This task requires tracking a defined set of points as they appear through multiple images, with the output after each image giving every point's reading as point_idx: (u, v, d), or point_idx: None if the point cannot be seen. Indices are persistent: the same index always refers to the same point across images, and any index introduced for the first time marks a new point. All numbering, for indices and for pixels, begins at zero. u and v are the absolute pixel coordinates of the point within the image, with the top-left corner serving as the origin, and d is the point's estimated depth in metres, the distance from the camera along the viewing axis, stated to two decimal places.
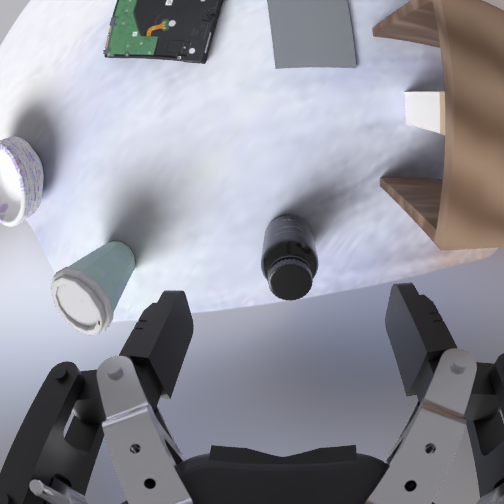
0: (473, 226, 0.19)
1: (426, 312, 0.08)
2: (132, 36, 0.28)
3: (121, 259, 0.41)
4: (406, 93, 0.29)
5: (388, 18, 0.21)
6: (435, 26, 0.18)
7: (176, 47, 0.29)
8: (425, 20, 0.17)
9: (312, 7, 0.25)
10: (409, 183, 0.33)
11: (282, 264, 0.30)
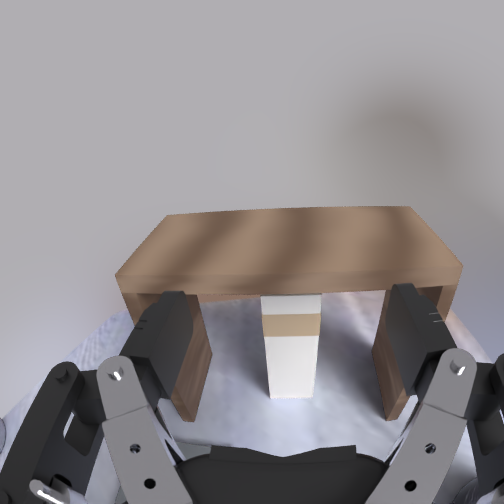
0: (418, 242, 0.17)
1: (426, 312, 0.08)
2: None
3: None
4: (272, 395, 0.28)
5: None
6: None
7: None
8: None
9: None
10: (387, 381, 0.25)
11: None
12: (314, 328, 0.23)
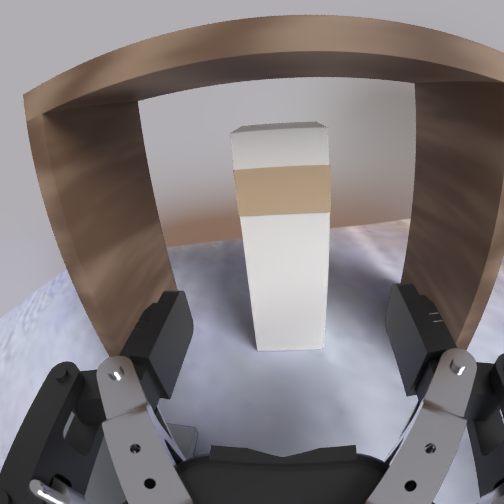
0: None
1: (426, 312, 0.08)
2: None
3: None
4: (259, 344, 0.19)
5: (89, 311, 0.14)
6: (117, 225, 0.16)
7: None
8: (95, 216, 0.14)
9: None
10: None
11: None
12: (321, 196, 0.14)
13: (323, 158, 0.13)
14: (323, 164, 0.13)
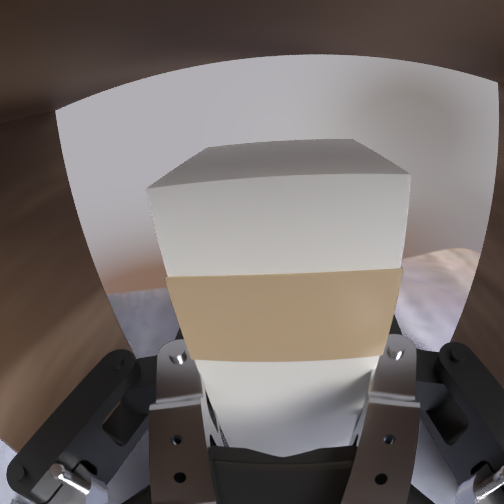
0: None
1: None
2: None
3: None
4: None
5: (6, 443, 0.06)
6: (20, 325, 0.08)
7: None
8: None
9: None
10: None
11: None
12: (370, 331, 0.06)
13: (390, 254, 0.05)
14: (387, 268, 0.05)
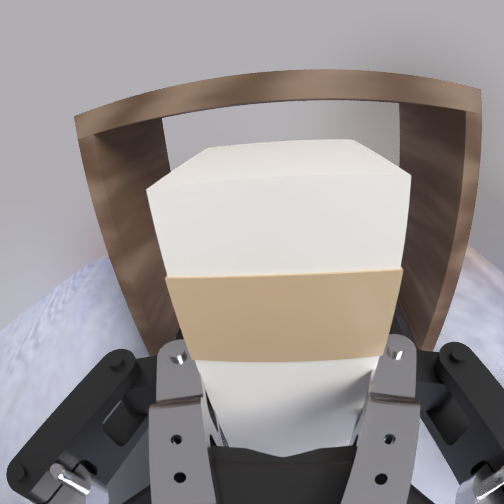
0: None
1: None
2: None
3: None
4: None
5: (127, 296, 0.18)
6: (149, 224, 0.20)
7: None
8: (134, 217, 0.18)
9: None
10: (415, 298, 0.20)
11: None
12: (370, 332, 0.06)
13: (390, 254, 0.05)
14: (387, 268, 0.05)
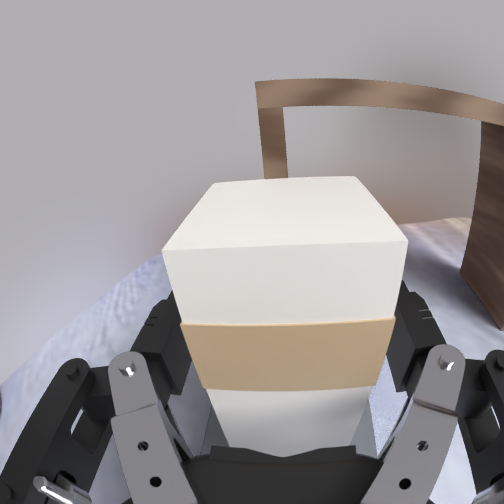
0: None
1: (415, 308, 0.08)
2: None
3: None
4: None
5: None
6: None
7: None
8: None
9: None
10: (495, 285, 0.20)
11: None
12: (364, 367, 0.06)
13: (384, 306, 0.05)
14: (381, 318, 0.06)
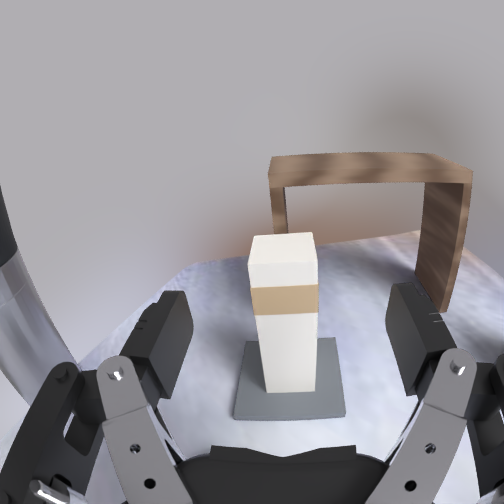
0: (444, 163, 0.26)
1: (426, 312, 0.08)
2: None
3: None
4: (268, 389, 0.25)
5: None
6: None
7: None
8: None
9: (256, 372, 0.28)
10: (434, 281, 0.33)
11: None
12: (312, 303, 0.20)
13: (314, 280, 0.19)
14: (313, 284, 0.19)
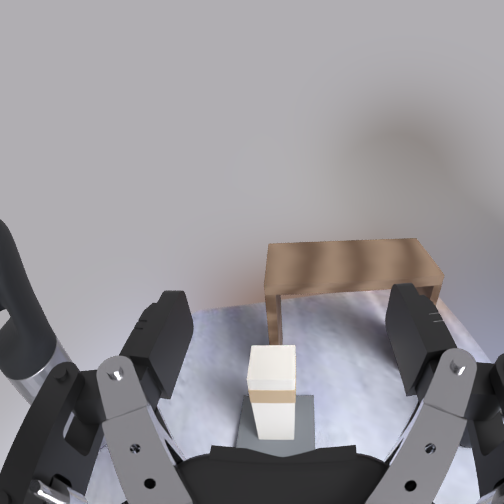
0: (421, 262, 0.33)
1: (426, 312, 0.08)
2: None
3: None
4: (260, 437, 0.32)
5: None
6: (279, 318, 0.40)
7: None
8: (278, 320, 0.38)
9: (251, 422, 0.35)
10: None
11: None
12: (291, 398, 0.26)
13: (292, 388, 0.26)
14: (292, 390, 0.26)
